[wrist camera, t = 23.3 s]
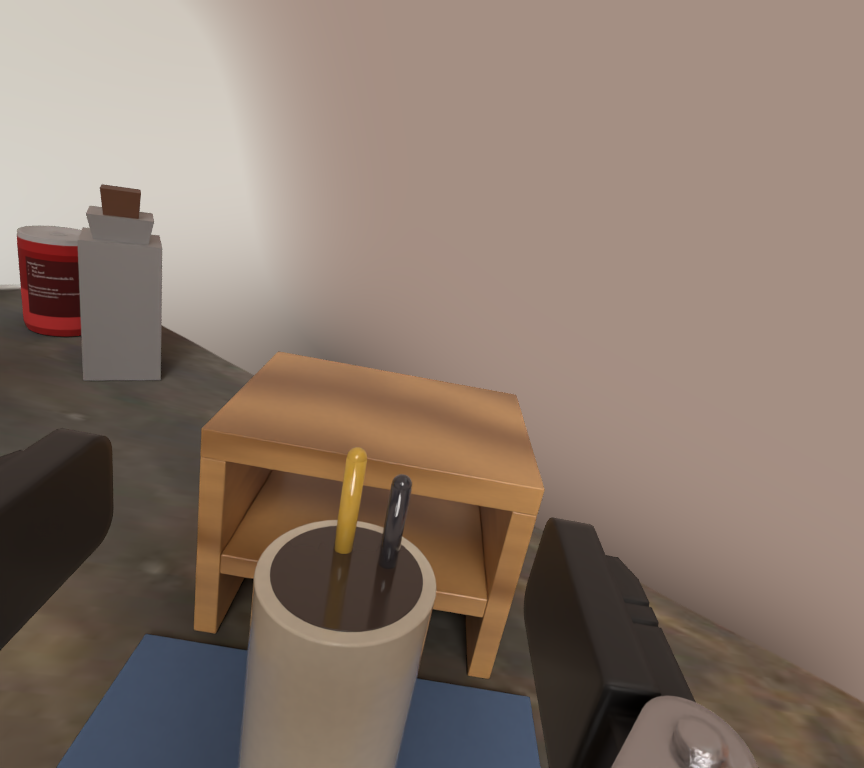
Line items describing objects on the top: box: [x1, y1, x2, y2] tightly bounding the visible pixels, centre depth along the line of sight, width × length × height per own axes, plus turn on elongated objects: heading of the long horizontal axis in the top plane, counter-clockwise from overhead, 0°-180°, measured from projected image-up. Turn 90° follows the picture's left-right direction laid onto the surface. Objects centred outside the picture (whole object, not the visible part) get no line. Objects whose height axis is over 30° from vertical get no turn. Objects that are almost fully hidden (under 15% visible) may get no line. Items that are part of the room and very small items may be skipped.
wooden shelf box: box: [194, 352, 545, 679], centre depth 33 cm, size 12×16×12 cm
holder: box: [238, 447, 437, 768], centre depth 20 cm, size 6×6×15 cm
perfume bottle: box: [77, 185, 162, 380], centre depth 55 cm, size 7×7×18 cm
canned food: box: [17, 226, 82, 337], centre depth 64 cm, size 8×8×11 cm
